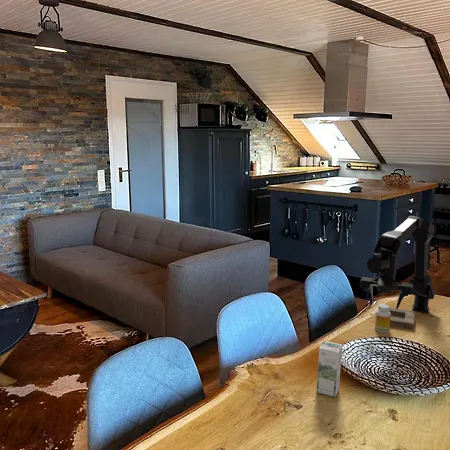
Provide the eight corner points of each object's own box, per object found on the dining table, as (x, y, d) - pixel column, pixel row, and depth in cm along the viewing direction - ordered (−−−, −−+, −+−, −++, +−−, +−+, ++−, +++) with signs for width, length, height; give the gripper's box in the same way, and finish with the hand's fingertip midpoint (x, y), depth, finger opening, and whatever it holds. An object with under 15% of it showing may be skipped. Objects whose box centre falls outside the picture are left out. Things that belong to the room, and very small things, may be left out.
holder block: (379, 311, 199) (379, 305, 199) (414, 317, 194) (415, 311, 193) (375, 323, 187) (375, 317, 186) (412, 330, 181) (413, 323, 181)
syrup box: (339, 388, 140) (343, 343, 137) (335, 398, 135) (338, 351, 132) (320, 383, 142) (323, 339, 139) (315, 393, 137) (318, 347, 134)
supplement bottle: (391, 332, 179) (393, 308, 177) (376, 332, 179) (379, 308, 177) (386, 326, 184) (388, 303, 182) (372, 326, 184) (374, 303, 182)
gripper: (358, 270, 173) (355, 310, 176) (413, 277, 165) (409, 319, 169) (363, 262, 183) (360, 300, 186) (414, 269, 175) (410, 308, 178)
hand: (384, 307), depth 179 cm, fingers open, 9 cm apart
